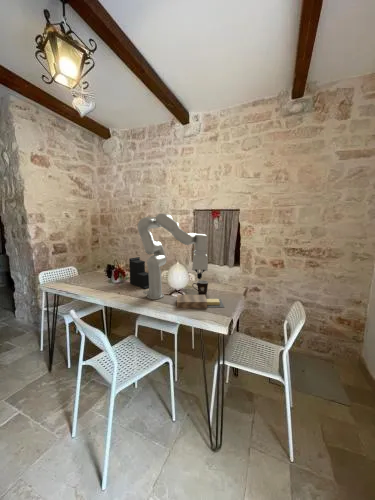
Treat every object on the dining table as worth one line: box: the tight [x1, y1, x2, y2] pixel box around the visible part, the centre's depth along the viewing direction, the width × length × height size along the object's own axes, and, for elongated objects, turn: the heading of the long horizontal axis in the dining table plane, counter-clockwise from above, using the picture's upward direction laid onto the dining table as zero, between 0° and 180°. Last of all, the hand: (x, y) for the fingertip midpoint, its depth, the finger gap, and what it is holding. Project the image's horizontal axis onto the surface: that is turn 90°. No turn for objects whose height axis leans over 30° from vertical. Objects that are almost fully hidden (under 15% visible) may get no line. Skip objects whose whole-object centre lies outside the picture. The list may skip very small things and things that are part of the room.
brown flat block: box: [176, 294, 208, 309], centre depth 151 cm, size 20×14×4 cm
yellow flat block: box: [206, 298, 220, 305], centre depth 152 cm, size 9×6×2 cm, turn 90°
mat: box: [207, 298, 225, 309], centre depth 152 cm, size 11×14×1 cm
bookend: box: [128, 256, 149, 290], centre depth 193 cm, size 23×11×24 cm, turn 46°
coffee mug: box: [191, 279, 209, 296], centre depth 171 cm, size 12×9×10 cm
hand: (199, 278), depth 150 cm, fingers closed
